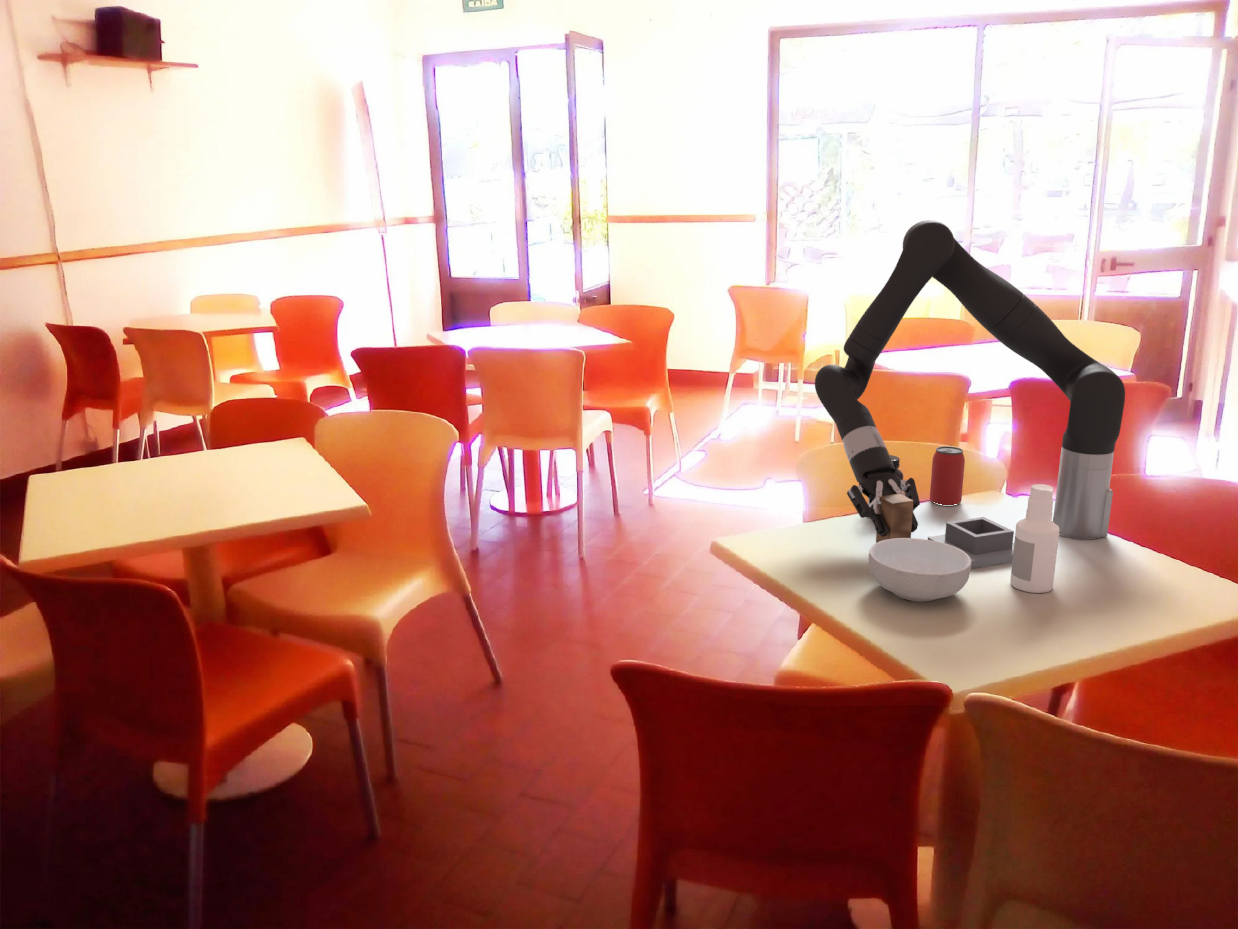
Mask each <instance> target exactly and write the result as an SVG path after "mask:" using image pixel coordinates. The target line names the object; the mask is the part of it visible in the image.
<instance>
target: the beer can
mask: <svg viewBox="0 0 1238 929" xmlns="http://www.w3.org/2000/svg"><path fill="white" fill-rule="evenodd" d="M931 462H932V463H931V464H932V465H931V473H930V474H931V475H930V476H931V477H930V487H929V488H930V489H929V500H930V502H931V503H933V502H935V503H938V504H942V505H954V504H958V503H962V500H963V499H962V498H963V488H964V487H963V486H964V478H965V476H964V474H965V464H966V460H965V455H964V450H963V449H962V448H960V447H956V446H948V445H946V446H943V445H942V446H938V447H936V448H935V453H934V454H933V456H932V461H931ZM958 505H959V504H958Z"/></svg>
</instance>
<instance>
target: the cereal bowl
mask: <svg viewBox="0 0 1238 929" xmlns="http://www.w3.org/2000/svg"><path fill="white" fill-rule="evenodd" d="M868 569H869V572H870V574H871V576H872V577H873V579H874V580H875V581H876V583H878V585H880V586H881V587H882V588H883V589H885V590H887V591H889V592H891V593H893V594H894V595H895V596H897V597H898V598H901V599H904V600H908V601H912V602H917V603H918V602H919V603H920V602H921V603H922V602H923V603H925V602H931V601H935V600H937V599H942V598H948V597H951V596H954V595H955V594H957V593H958V592H960V591H961V590H962V589H963V588H964V587H965V585H967V583H968V581H969V579H970V574H971V570H972V569H971V559H970V557H969V556H968V555H967V554H966V553H965V552H964V551H962V550H960V549H959V548H956V547H954V546H951V545H948V544H945V543H941V542H937V541H932V540H928V539H925V538H924V539H923V538H915V537H914V538H912V537H911V538H895V539H888V540H883V541H880V542H877V543H876V542H875V543H874V544H872V545H871V547H870V549H869V551H868Z"/></svg>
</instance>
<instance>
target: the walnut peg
mask: <svg viewBox="0 0 1238 929" xmlns="http://www.w3.org/2000/svg"><path fill="white" fill-rule="evenodd" d="M880 499H881V512H880V515H881V514H882V515H883V517H884V520H885V522H886V525H887V527H888V530H889V533H888V534H887V535H886V536H884V537H881V536H880V534H878V533H877V532H875V533H876V536H875V543H877V542H880V541H883V540H888V539H895V538H912V532H911V529H912V515H913V513H914V511H913V500H911V499H909V498H907V497H905V496H903V495H901V494H892V495H884V496H881V497H880Z"/></svg>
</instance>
